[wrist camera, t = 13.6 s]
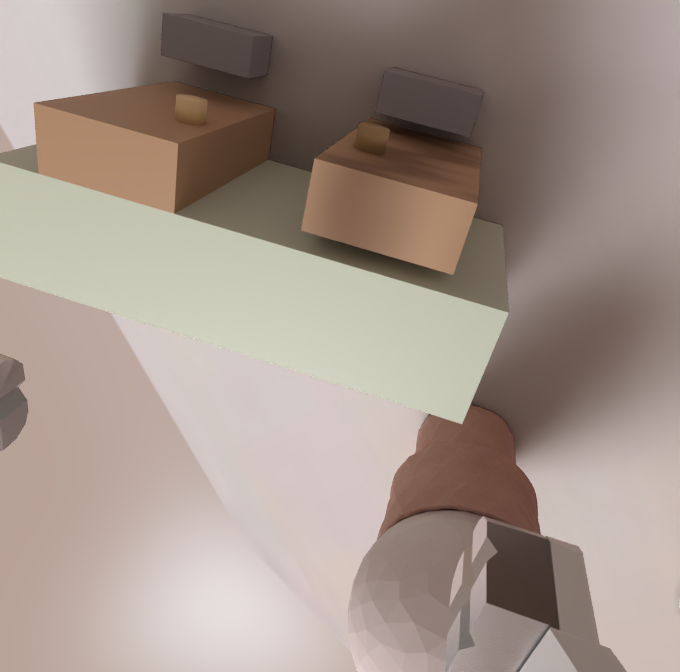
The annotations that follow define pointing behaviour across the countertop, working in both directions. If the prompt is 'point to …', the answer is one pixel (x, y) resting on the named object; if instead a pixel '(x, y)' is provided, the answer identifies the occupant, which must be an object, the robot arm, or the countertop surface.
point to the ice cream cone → (433, 539)
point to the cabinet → (244, 232)
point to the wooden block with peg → (396, 194)
